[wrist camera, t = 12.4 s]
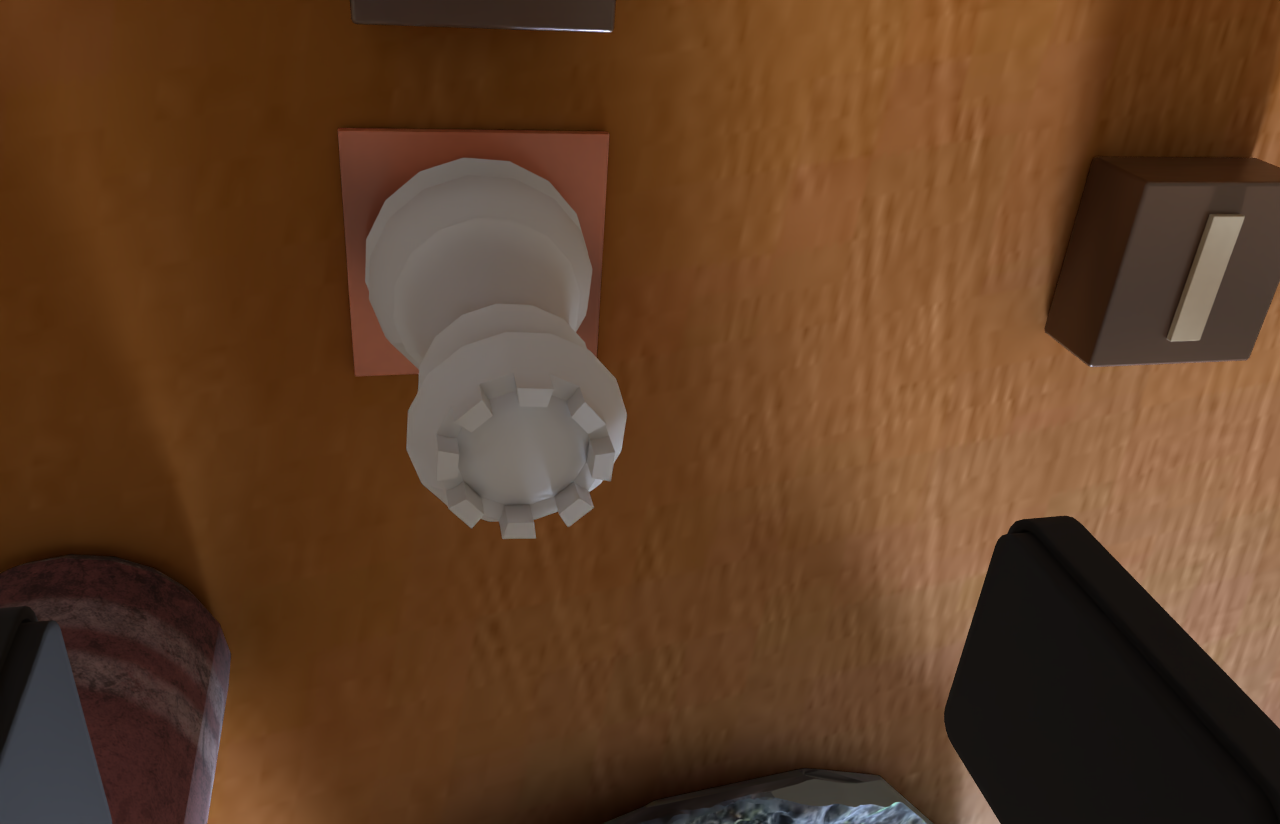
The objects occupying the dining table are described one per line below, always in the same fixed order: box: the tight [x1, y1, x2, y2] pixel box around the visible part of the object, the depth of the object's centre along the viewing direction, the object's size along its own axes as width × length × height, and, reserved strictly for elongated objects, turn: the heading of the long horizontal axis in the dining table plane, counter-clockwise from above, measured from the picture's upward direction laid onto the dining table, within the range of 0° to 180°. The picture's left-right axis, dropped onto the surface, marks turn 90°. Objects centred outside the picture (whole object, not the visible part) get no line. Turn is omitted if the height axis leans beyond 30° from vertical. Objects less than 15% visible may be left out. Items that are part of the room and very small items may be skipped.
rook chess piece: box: [365, 158, 627, 539], centre depth 18 cm, size 4×4×8 cm
